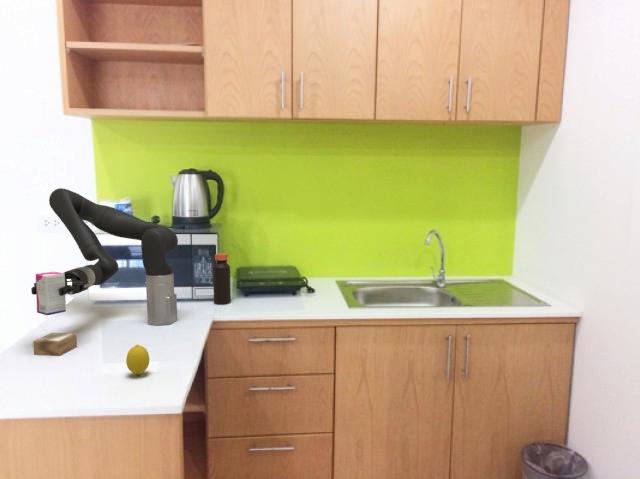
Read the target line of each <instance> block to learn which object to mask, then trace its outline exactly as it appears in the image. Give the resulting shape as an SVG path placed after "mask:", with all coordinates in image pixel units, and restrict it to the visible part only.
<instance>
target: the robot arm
mask: <svg viewBox="0 0 640 479" xmlns="http://www.w3.org/2000/svg"><path fill="white" fill-rule="evenodd" d="M48 202H49V206H50V209H51V210H52V211H53V212H54V214H55V215H56V216H57V217H58V219H60V221H61V222H62V224H63V225H64V226H65V228H66V229H67V231H68V232H69V233H70V235H71V237H72V238H73V240H74V242H75V243H76V245H77V247H78V248H79V251H80V253H81V254H82V256H83V258H84V259H85V260H86V261H88V262H93V261H96V263H94V264H87V265H84V266H78V267H75V268H73V269H69V270H67V271H66V270H65V271H63V274H65V286H64V287H61V288H59V295H60V296H63V295H65V296H66V295H70V296H71V295H76V294H80V293H82V292H84V291H87V290H88V289H89V288H91V287H93V286H101V285H102V284H104V283H106V282H107V281H109V279H111V278H112V277H113V276H114V275H116V273H118V271H119V264H118V261H117V260H116V259H115V258H114V257H112V255H111V254H110V253H109V252H108V251H107V250H105V248H104V247H103V245H102V244H101V242H100V240H99V237H97V234H96V233H95V232H94V231H93V230H92V229H91V227H90V226H89V225H87V224H86V222H89V223H90V224H91V225H93V226H94V227H95V228H97V229H98V230H100V231H102V232H104V233H106V234H109V235H111V236H114V237H118V238H124V239H129V240H135V241H137V240H138V241H141V242H140V248H141V257H142V260H141V261H142V265H143V268H144V270H145V285H146V286H145V289H146V292H145V293H146V312H147V318H146V319H147V324H149V325H151V326H165V325H171V324H173V323H175V322H176V321H178V303H177V302H178V301H177V298H178V297H177V293H175V283H174V282H175V280H174V277H175V276H174V266H173V264H171V263H168V261H167V259H166V254H168V253H171V252H172V251H174V250H175V249H176V248H177V246H178V243H179V238H178V236H177V234H176V233H175V231H174V230H173V229H171V228H170V227H166V226H164V225H163V226H162V225H160V224H156V223H151V222H148V221H146V220H143V219H141V218H138V217H137V216H135V215H133V214H129V213H128V212H125V211H123V210H120V209H118V208H115V207H112V206H110V205H109V206H108V205H105V204H104V205H103V204H98V203H95V202H93V201H92V200H89V199H88V198H86V197H85V196H83V195H81V194H79V193H77V192H74V191H72V190H70V189H66V188H60V187H59V188H56V189H54V190H52V191H51V193H50V195H49V199H48ZM97 260H98V261H97ZM30 290H31V294H32V295H36V282H34V283H33V286H32V287H31V289H30Z"/></svg>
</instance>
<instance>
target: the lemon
mask: <svg viewBox="0 0 640 479" xmlns="http://www.w3.org/2000/svg"><path fill="white" fill-rule="evenodd" d="M125 359H126V362H125V363H126V366H127V369H128V370H129V371H130V372H131V373H133V374H136V376H140V375H141V374H142V373H144V372H145V371H146V370H147V369H148V367H149V364H150V354H149V351H148V350H147V348H146V347H144V346H142V345H140V344H135V345H134V346H132V347H131V348H130V349H129V350H128V352H127V354H126V358H125Z"/></svg>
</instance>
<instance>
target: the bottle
mask: <svg viewBox="0 0 640 479" xmlns="http://www.w3.org/2000/svg"><path fill="white" fill-rule="evenodd" d="M228 257H229V256H228V253H225V252H223V253H216V254H214V260H215V264H214V265H213V266H212V276H213V277H212V281H213V282H212V283H213V285H212V286H213V303H214V305H228V304H230V303H231V301H232V299H231V296H232V293H231V266H230V265H229V264H228Z"/></svg>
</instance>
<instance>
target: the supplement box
mask: <svg viewBox="0 0 640 479" xmlns="http://www.w3.org/2000/svg"><path fill="white" fill-rule="evenodd" d="M63 273H64V272H63ZM63 273H61V272H58V271H49V272H48V271H47V272H41V273H35V283H36V313H37V314H42V315H45V316H51V315H56V314H61V313H65V312H66V309H67V307H66V306H67V304H66V294H65V295H63V296H60V295H59V288H61V287H64V286H65V274H63Z"/></svg>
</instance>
